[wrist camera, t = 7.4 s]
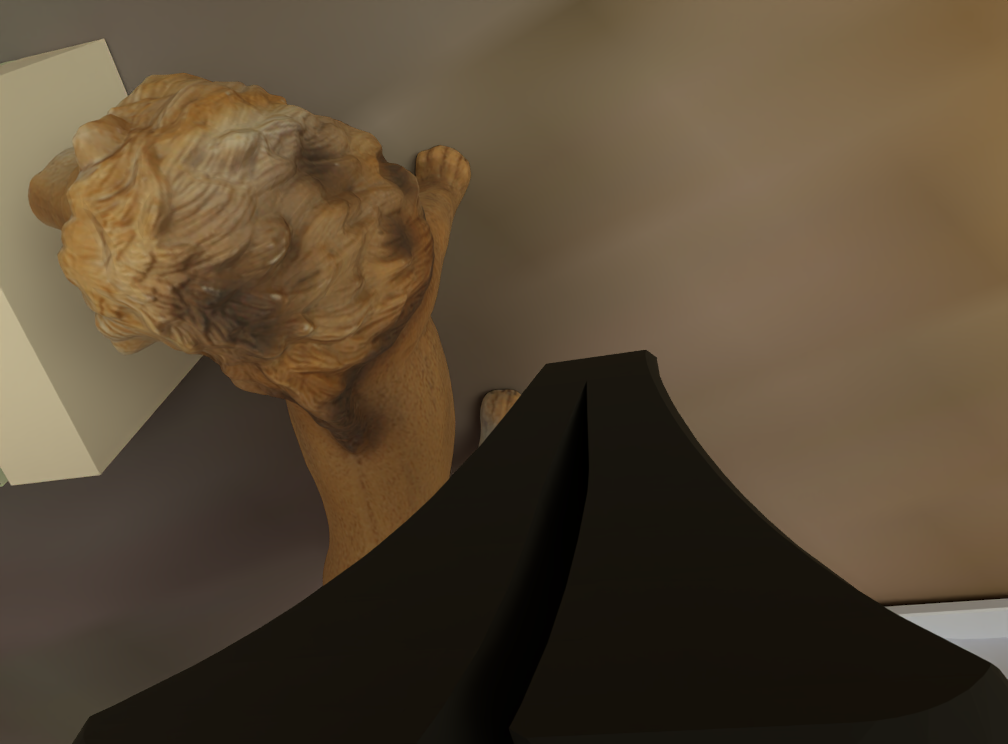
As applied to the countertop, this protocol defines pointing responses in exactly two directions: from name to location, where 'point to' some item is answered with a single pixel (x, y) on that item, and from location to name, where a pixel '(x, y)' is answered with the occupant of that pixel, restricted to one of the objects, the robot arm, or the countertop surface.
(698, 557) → the robot arm
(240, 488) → the countertop surface
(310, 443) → the lion figurine
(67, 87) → the book row
